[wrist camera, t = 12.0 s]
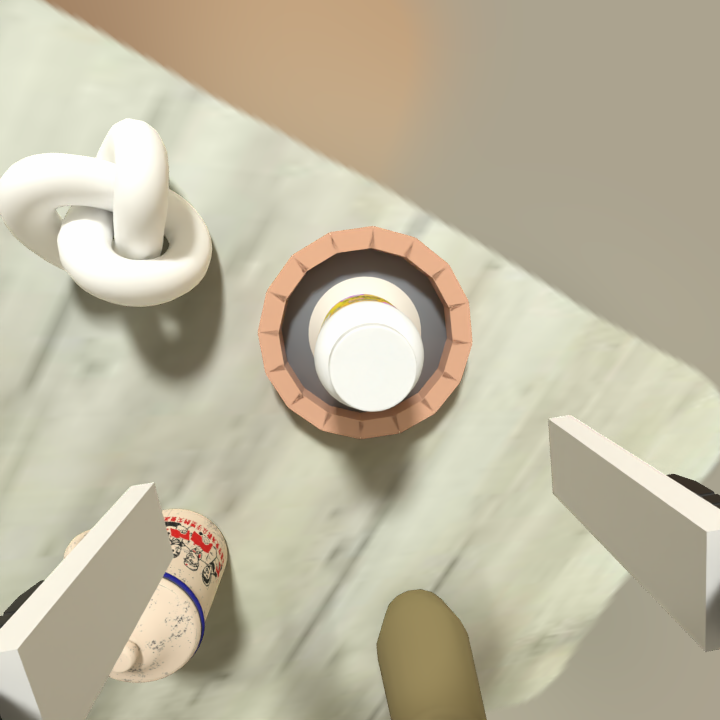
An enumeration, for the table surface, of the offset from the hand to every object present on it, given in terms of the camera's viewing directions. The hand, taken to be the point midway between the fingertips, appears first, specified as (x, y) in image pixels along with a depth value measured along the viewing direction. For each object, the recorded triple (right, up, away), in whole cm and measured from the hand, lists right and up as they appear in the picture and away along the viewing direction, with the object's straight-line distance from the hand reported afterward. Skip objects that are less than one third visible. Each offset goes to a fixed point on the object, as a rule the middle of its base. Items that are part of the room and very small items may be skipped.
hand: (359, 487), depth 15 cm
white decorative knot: (-16, +14, +20) cm, 29 cm away
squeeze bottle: (+5, -20, +28) cm, 35 cm away
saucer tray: (0, +6, +22) cm, 23 cm away
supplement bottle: (0, +6, +22) cm, 23 cm away
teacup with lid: (-17, -12, +26) cm, 33 cm away
